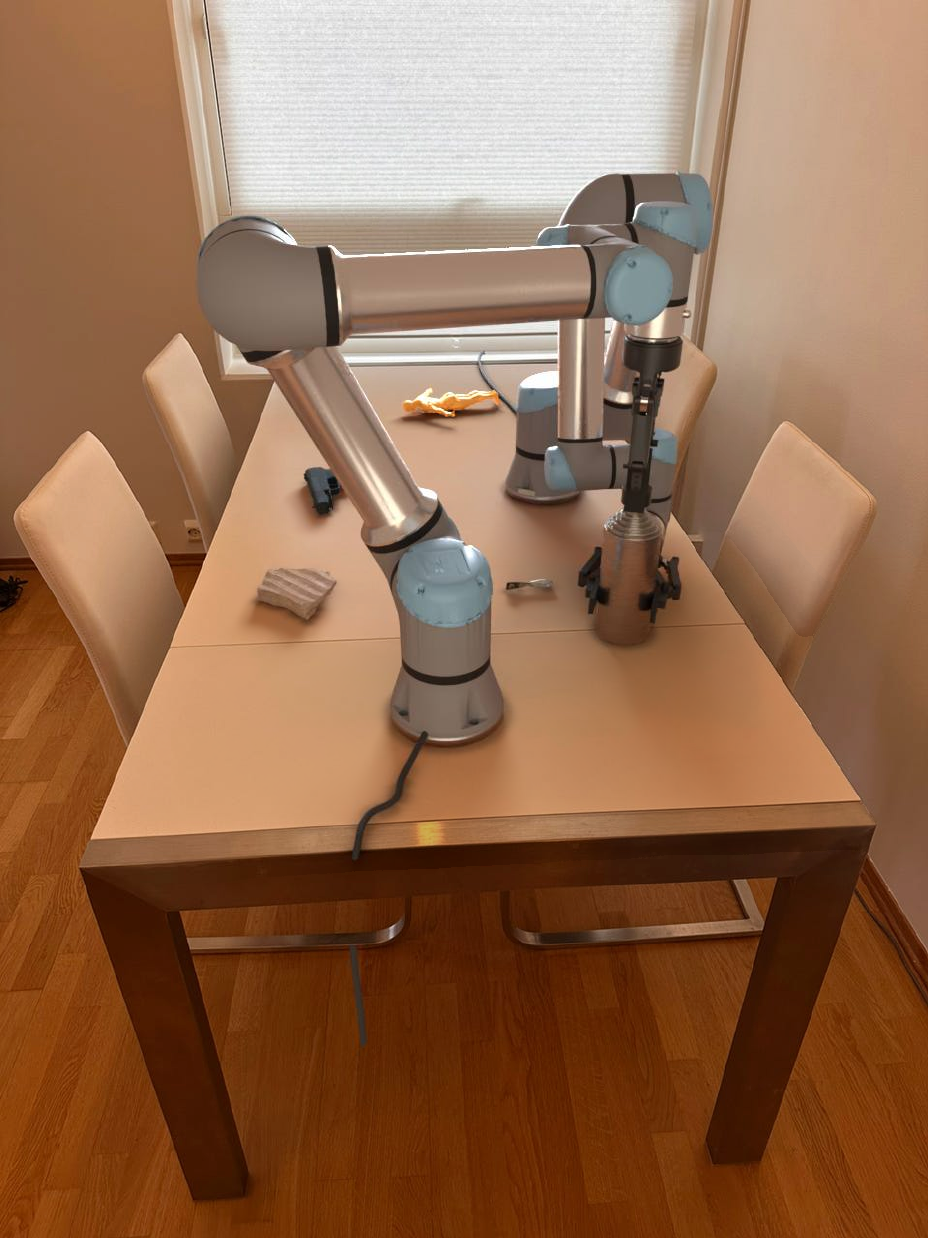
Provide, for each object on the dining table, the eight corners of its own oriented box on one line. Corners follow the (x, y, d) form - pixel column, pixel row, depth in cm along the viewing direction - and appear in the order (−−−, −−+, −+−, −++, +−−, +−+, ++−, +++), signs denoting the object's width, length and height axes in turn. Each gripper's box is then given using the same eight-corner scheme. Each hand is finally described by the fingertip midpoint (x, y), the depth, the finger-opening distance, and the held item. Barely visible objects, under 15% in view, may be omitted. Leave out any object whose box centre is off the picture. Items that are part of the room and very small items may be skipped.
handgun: (374, 509, 176) (313, 517, 173) (359, 474, 190) (302, 481, 188) (373, 494, 174) (311, 502, 172) (358, 460, 188) (301, 466, 186)
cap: (640, 511, 124) (642, 496, 123) (615, 502, 126) (616, 488, 125) (656, 501, 127) (657, 486, 125) (631, 493, 129) (632, 479, 128)
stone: (346, 586, 150) (345, 572, 148) (309, 621, 140) (307, 607, 139) (280, 572, 154) (279, 559, 153) (240, 606, 145) (238, 592, 143)
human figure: (395, 413, 223) (394, 398, 221) (438, 390, 237) (438, 375, 235) (462, 429, 215) (462, 413, 213) (502, 404, 229) (503, 388, 227)
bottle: (592, 642, 135) (604, 502, 123) (598, 614, 142) (610, 479, 130) (647, 649, 134) (665, 508, 121) (651, 620, 141) (668, 484, 128)
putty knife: (553, 587, 149) (553, 578, 148) (506, 592, 148) (507, 584, 147) (551, 584, 150) (551, 575, 149) (505, 589, 149) (505, 581, 148)
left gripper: (679, 358, 105) (658, 533, 118) (686, 319, 121) (667, 477, 133) (615, 353, 107) (601, 527, 119) (631, 315, 123) (616, 472, 135)
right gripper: (702, 570, 149) (692, 642, 130) (576, 554, 154) (549, 621, 135) (708, 530, 145) (699, 598, 126) (579, 514, 150) (552, 578, 131)
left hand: (636, 500), depth 126 cm, fingers open, 6 cm apart
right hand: (621, 610), depth 131 cm, fingers closed on bottle, 8 cm apart
